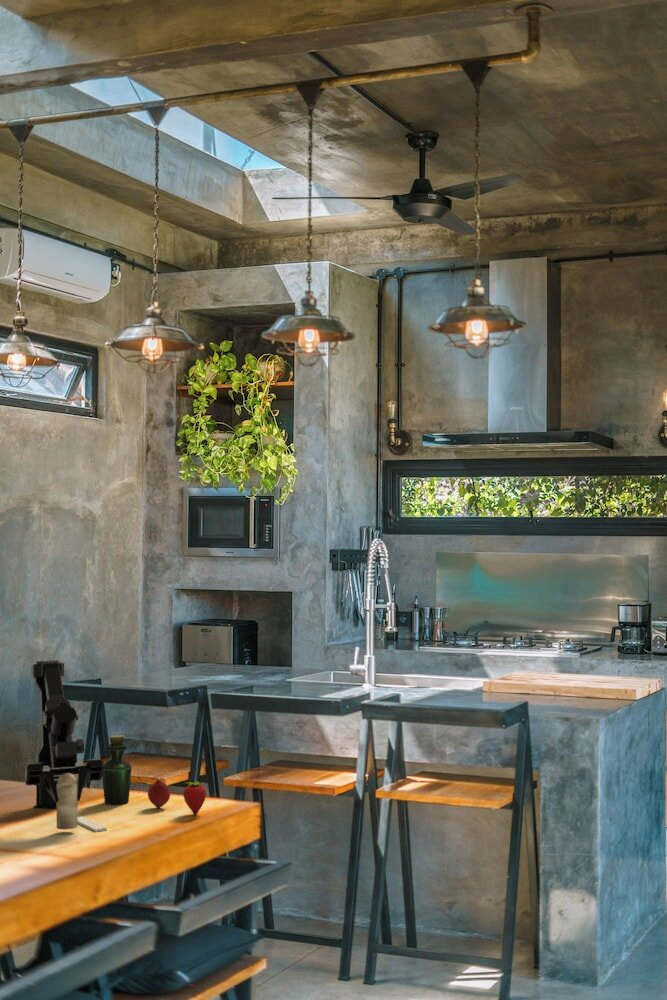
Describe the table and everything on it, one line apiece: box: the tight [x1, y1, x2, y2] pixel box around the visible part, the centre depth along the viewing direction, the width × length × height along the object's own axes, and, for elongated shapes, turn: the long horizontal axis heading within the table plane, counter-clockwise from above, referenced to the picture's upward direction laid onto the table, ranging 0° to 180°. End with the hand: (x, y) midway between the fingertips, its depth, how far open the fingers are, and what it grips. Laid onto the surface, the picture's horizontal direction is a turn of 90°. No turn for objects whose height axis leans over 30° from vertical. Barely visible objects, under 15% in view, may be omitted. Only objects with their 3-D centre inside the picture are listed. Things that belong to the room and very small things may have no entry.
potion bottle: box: [102, 734, 132, 806], centre depth 332 cm, size 8×8×18 cm
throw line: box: [78, 816, 108, 833], centre depth 304 cm, size 16×3×1 cm, turn 33°
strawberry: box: [182, 780, 207, 815], centre depth 316 cm, size 6×8×10 cm
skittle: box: [56, 773, 79, 830], centre depth 296 cm, size 5×5×13 cm
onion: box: [147, 777, 171, 809], centre depth 324 cm, size 6×6×8 cm
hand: (67, 800), depth 294 cm, fingers closed on skittle, 5 cm apart
